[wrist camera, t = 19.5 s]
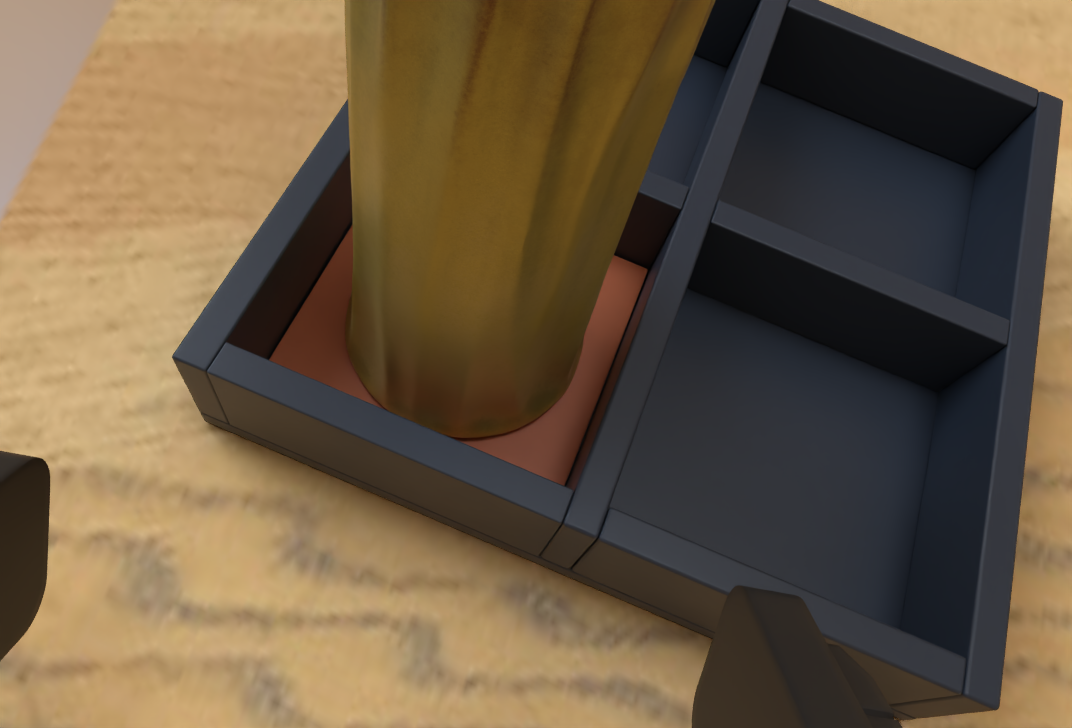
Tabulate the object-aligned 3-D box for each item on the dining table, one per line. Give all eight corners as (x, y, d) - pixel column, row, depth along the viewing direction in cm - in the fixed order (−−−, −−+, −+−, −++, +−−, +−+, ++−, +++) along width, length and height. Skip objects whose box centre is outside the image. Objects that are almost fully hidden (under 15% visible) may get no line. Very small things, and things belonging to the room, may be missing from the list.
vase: (584, 249, 24) (812, -355, 11) (577, 454, 21) (868, -32, 8) (364, 218, 23) (337, -464, 10) (327, 428, 20) (228, -149, 8)
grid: (203, 421, 21) (170, 356, 17) (490, -31, 29) (503, -130, 26) (904, 721, 20) (1000, 711, 17) (988, 174, 29) (1064, 99, 25)
